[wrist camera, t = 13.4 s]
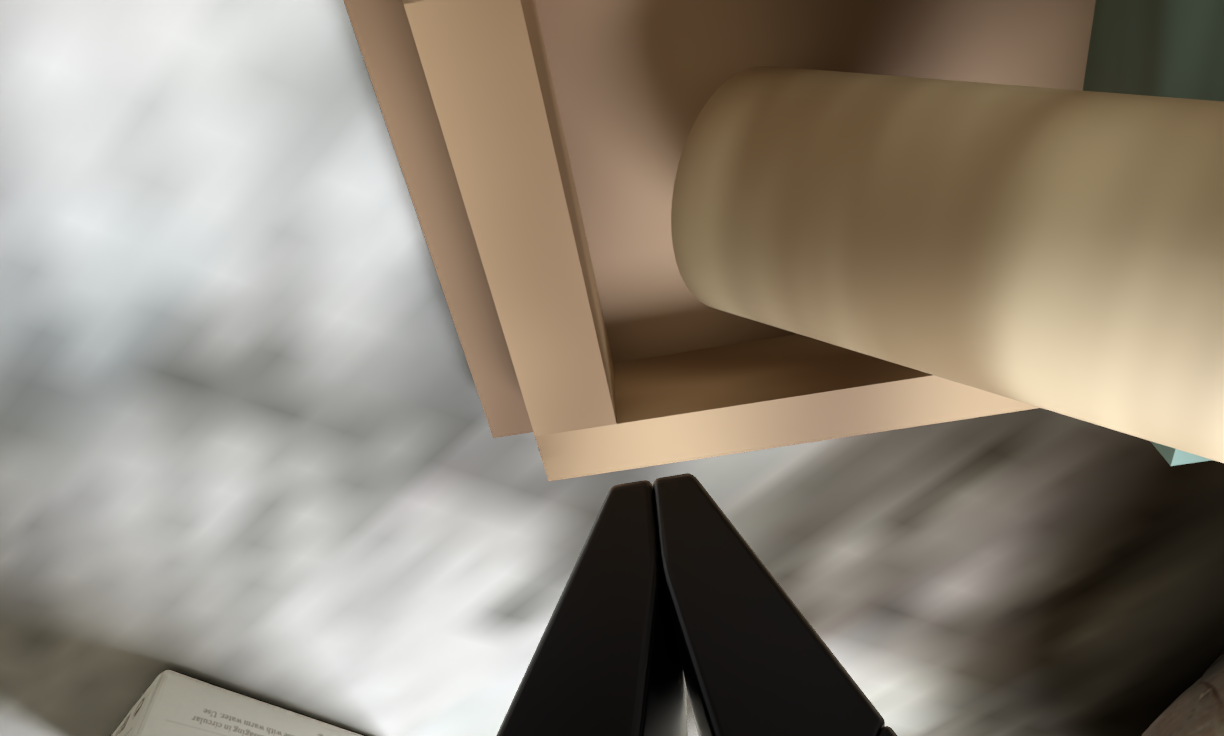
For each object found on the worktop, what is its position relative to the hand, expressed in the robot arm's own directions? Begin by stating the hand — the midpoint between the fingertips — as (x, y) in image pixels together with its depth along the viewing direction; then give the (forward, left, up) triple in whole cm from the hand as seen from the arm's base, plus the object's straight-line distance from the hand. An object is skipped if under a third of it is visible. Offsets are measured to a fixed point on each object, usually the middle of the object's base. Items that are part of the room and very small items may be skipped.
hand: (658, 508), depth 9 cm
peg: (+2, 0, -7) cm, 7 cm away
